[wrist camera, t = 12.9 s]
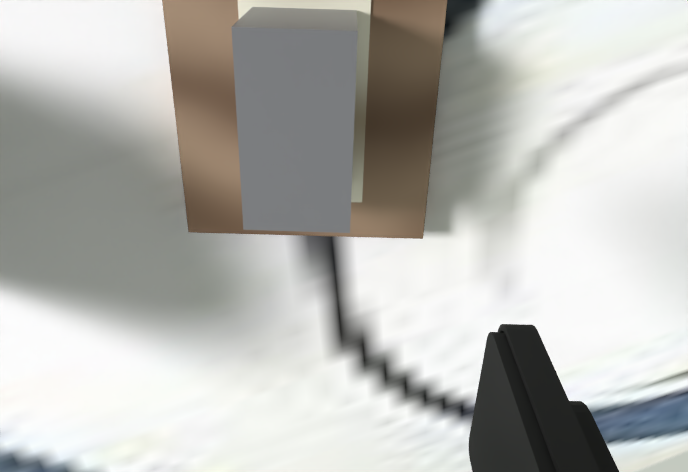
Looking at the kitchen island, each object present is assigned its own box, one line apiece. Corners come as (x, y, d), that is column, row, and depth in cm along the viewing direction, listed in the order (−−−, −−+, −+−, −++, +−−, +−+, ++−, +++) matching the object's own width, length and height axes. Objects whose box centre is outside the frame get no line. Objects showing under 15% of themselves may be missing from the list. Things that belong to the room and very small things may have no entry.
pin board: (163, -78, 25) (129, -76, 21) (448, -70, 25) (466, -66, 21) (195, 218, 32) (173, 261, 28) (419, 225, 32) (429, 268, 28)
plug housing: (252, 6, 25) (231, 26, 21) (356, 10, 25) (357, 31, 21) (259, 181, 29) (243, 229, 24) (349, 184, 29) (350, 232, 24)
